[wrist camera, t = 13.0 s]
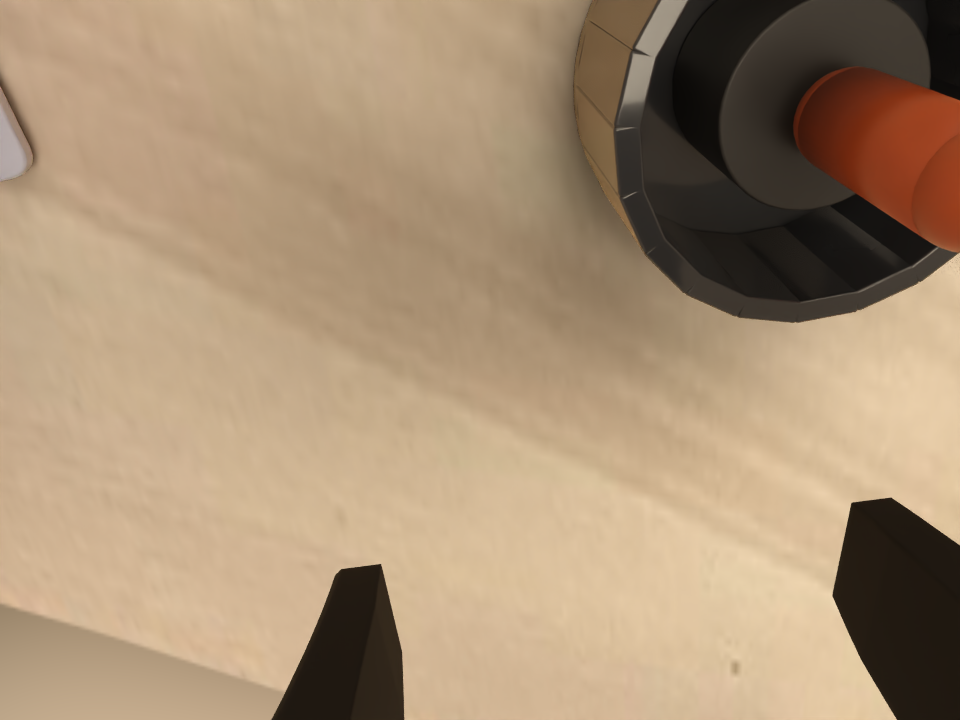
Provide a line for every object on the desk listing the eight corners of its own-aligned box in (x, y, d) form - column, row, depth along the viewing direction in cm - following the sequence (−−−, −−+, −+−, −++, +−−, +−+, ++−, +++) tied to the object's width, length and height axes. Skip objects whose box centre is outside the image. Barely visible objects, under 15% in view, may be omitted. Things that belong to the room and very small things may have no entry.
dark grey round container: (590, 270, 19) (631, 355, 16) (551, -99, 15) (595, -98, 12) (910, 209, 19) (1025, 281, 16) (963, -183, 15) (1137, -209, 11)
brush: (674, 181, 18) (852, 371, 11) (667, -4, 16) (882, 76, 9) (844, 149, 18) (1137, 318, 11) (860, -42, 16) (1239, 7, 8)
